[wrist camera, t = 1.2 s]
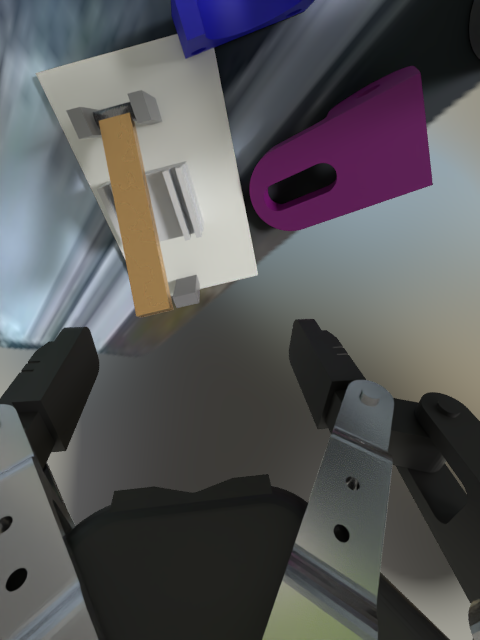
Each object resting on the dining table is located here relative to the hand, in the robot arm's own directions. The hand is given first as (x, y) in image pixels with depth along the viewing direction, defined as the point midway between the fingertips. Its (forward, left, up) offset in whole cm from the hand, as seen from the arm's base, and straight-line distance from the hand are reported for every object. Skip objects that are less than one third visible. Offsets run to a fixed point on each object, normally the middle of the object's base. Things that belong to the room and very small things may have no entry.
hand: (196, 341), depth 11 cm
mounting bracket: (-15, 0, -29) cm, 33 cm away
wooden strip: (+5, -2, -18) cm, 18 cm away
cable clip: (-8, -15, -28) cm, 33 cm away
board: (+4, -1, -29) cm, 29 cm away
